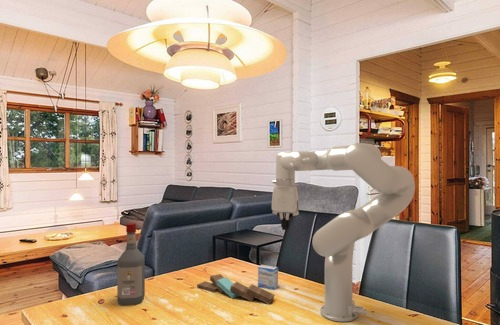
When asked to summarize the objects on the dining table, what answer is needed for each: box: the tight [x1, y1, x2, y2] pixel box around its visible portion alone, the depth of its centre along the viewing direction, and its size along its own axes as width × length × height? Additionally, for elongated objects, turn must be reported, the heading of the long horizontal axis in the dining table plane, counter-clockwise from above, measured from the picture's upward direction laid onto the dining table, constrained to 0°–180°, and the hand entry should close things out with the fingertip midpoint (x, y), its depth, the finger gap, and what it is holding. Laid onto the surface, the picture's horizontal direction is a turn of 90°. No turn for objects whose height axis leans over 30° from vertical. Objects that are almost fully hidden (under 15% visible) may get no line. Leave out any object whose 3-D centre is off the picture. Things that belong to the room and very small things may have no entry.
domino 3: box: [217, 276, 241, 299], centre depth 140 cm, size 2×5×10 cm
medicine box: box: [257, 264, 279, 291], centre depth 148 cm, size 8×4×9 cm, turn 62°
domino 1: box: [196, 280, 220, 293], centre depth 147 cm, size 2×5×10 cm
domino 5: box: [246, 284, 275, 305], centre depth 134 cm, size 2×5×10 cm
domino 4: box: [230, 281, 256, 303], centre depth 136 cm, size 2×5×10 cm
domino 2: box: [209, 274, 226, 294], centre depth 145 cm, size 2×5×10 cm
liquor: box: [116, 222, 146, 307], centre depth 133 cm, size 9×9×30 cm
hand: (285, 229), depth 136 cm, fingers closed
